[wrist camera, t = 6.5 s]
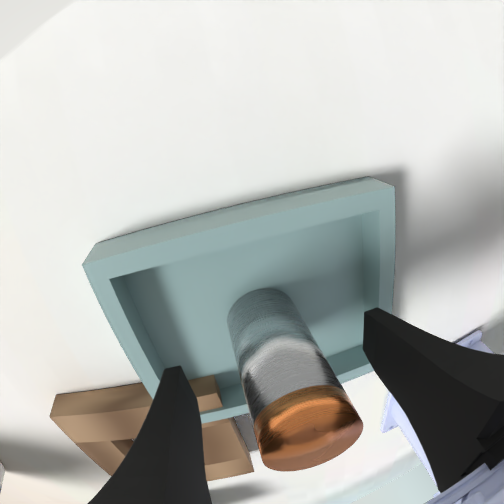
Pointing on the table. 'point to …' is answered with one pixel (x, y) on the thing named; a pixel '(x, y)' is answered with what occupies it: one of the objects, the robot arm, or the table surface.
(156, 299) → the parts tray
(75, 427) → the brown square frame
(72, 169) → the table surface
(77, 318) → the table surface
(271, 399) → the silver copper-capped cylinder
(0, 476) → the bath foam
